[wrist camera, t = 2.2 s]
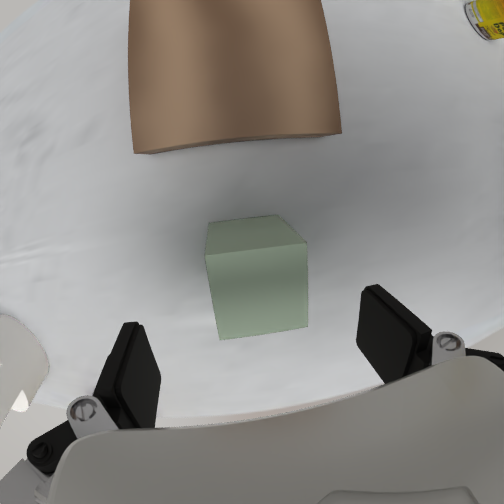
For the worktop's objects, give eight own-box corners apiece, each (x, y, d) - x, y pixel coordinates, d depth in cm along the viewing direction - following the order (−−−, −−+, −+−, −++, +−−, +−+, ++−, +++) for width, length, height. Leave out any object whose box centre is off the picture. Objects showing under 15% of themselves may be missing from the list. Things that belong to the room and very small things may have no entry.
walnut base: (299, 1, 15) (314, -23, 11) (318, 137, 19) (341, 133, 15) (144, 13, 14) (131, -11, 10) (150, 154, 18) (134, 153, 14)
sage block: (277, 214, 20) (306, 242, 14) (281, 277, 22) (307, 326, 15) (208, 222, 20) (204, 255, 13) (218, 286, 21) (219, 340, 15)
